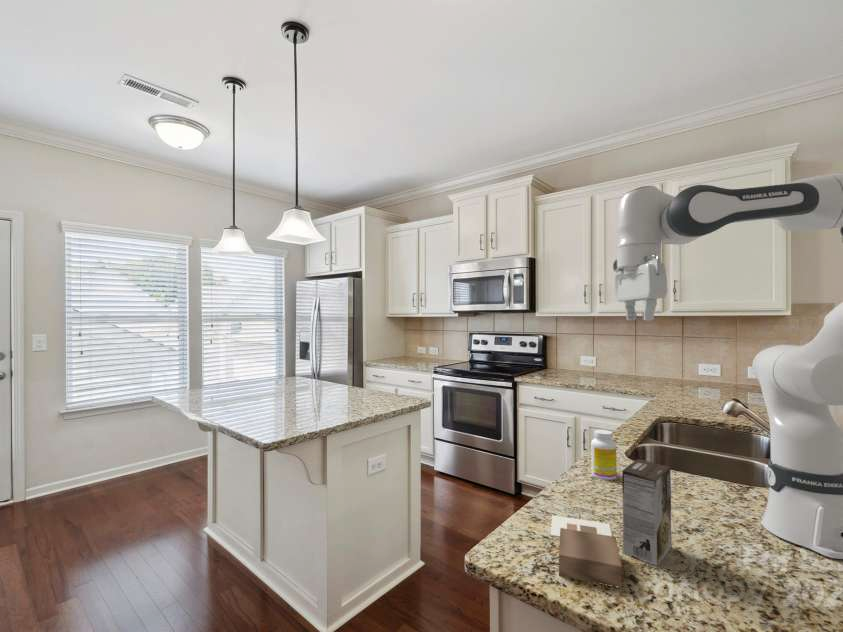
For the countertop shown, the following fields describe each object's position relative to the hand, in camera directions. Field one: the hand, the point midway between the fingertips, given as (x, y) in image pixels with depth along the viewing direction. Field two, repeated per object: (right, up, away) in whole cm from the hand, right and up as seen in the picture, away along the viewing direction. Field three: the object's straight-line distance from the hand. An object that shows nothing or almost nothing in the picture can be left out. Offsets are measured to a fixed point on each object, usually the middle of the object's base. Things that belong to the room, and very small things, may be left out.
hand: (639, 320), depth 94 cm
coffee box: (-6, -45, -14) cm, 47 cm away
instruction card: (-16, -45, -6) cm, 48 cm away
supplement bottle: (+2, -45, +24) cm, 51 cm away
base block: (-19, -45, -18) cm, 52 cm away
